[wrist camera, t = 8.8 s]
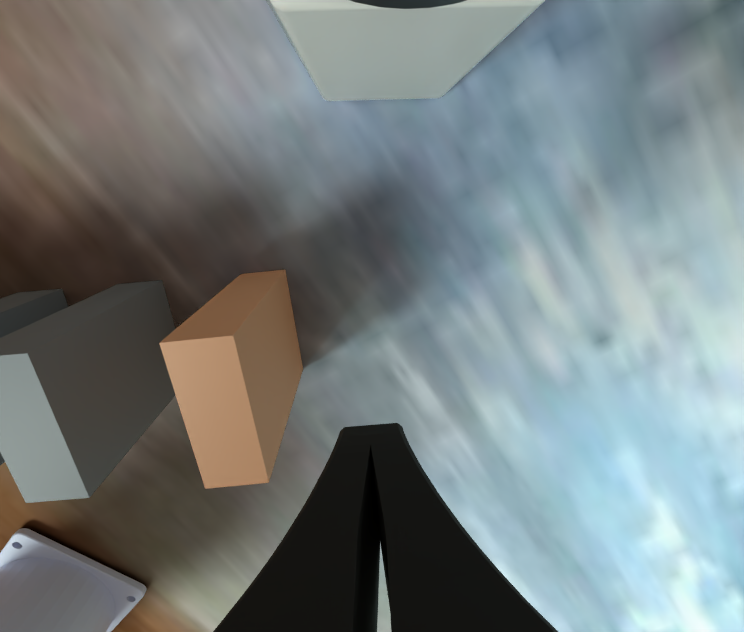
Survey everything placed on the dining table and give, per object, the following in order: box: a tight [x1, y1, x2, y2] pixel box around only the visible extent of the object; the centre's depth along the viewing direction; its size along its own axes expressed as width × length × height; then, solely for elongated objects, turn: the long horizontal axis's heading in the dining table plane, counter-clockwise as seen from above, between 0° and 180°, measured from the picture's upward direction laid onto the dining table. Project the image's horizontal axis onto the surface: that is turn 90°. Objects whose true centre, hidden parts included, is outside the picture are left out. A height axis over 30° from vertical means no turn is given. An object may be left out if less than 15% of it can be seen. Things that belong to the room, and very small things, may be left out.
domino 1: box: [159, 270, 303, 489], centre depth 15 cm, size 2×5×8 cm, turn 6°
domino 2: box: [0, 280, 175, 503], centre depth 15 cm, size 2×5×8 cm, turn 5°
